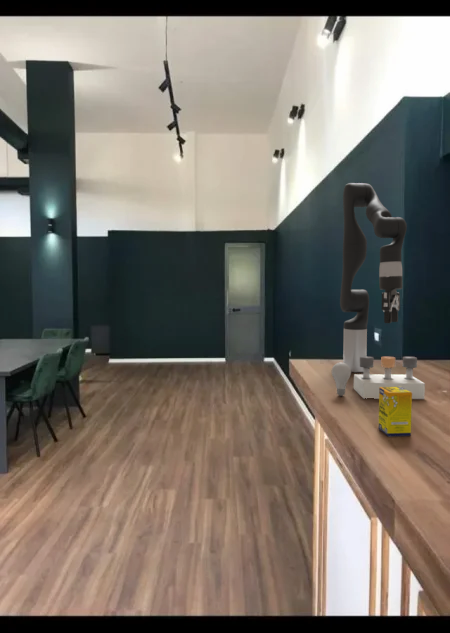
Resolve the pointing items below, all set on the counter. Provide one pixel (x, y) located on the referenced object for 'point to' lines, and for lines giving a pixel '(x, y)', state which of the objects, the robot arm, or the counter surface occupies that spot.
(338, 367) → the lightbulb
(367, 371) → the charcoal knob
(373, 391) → the mounting board
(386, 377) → the middle terracotta knob
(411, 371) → the charcoal knob
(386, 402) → the supplement box
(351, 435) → the counter surface
